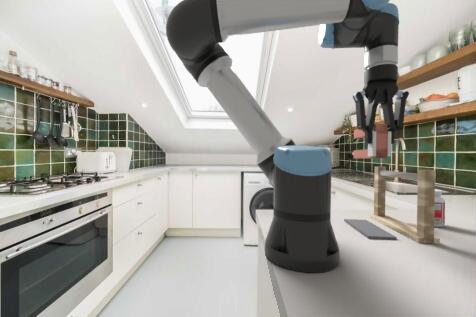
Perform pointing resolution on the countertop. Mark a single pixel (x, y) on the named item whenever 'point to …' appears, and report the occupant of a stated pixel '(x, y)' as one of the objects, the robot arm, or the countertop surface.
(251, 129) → the robot arm
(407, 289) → the countertop surface
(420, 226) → the stand
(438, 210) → the pill bottle
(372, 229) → the mat
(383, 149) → the c link
